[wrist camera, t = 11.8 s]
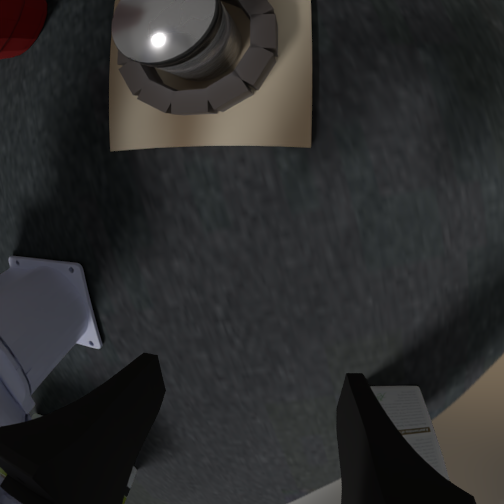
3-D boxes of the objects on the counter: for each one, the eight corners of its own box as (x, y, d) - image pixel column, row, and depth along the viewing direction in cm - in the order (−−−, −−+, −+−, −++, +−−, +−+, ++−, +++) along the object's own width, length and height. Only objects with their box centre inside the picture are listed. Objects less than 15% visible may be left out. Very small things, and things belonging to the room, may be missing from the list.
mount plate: (115, 150, 18) (92, 155, 16) (121, -15, 14) (101, -27, 11) (310, 147, 17) (312, 149, 14) (308, -38, 12) (309, -58, 10)
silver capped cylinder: (165, 86, 16) (109, 73, 10) (165, 18, 14) (114, -16, 9) (243, 78, 15) (216, 54, 10) (242, 7, 13) (216, -41, 8)
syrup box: (356, 384, 22) (372, 558, 9) (421, 383, 22) (463, 537, 8) (340, 426, 25) (343, 572, 11) (400, 424, 24) (421, 560, 10)
